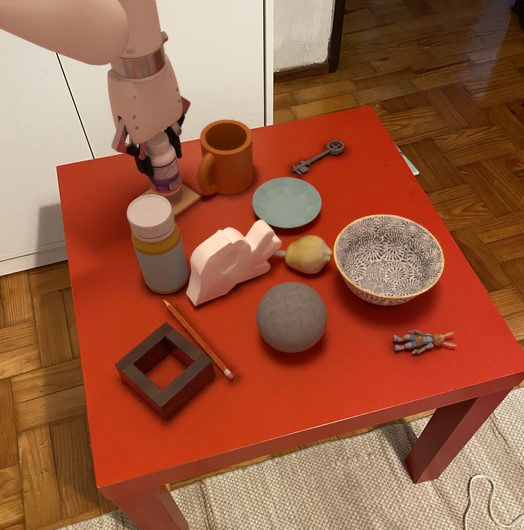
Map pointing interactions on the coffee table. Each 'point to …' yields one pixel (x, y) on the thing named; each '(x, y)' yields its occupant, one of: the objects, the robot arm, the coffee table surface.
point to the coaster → (179, 199)
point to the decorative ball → (291, 317)
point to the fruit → (307, 254)
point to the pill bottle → (163, 165)
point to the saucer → (286, 202)
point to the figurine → (421, 341)
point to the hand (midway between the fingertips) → (160, 162)
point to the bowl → (388, 259)
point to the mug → (225, 158)
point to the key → (329, 150)
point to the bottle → (158, 244)
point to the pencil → (199, 341)
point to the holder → (151, 354)
